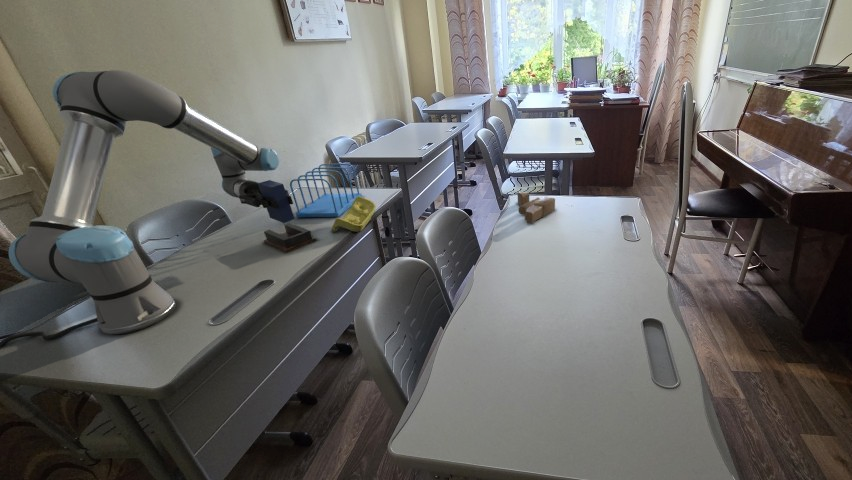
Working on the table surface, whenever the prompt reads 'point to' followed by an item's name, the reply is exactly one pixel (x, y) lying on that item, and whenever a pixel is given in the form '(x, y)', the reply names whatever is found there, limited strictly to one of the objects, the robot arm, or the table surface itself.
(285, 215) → the navy blue rectangular block
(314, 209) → the file sorter
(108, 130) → the robot arm
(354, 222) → the plastic component
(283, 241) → the dark brown block holder
